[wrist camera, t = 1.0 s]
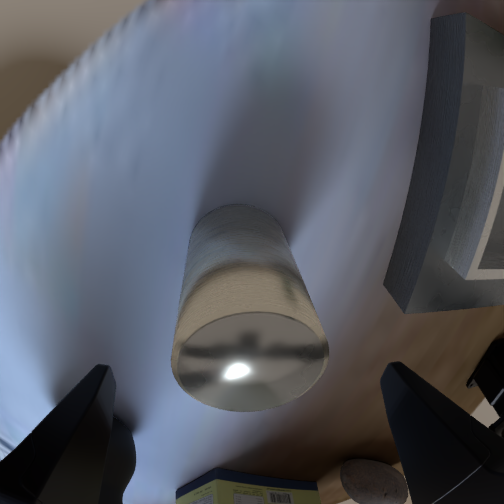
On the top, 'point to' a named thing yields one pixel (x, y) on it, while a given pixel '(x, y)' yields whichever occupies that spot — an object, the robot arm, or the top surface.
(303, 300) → the tin can
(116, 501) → the cola bottle
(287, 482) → the protein box
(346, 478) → the perforated stone tool
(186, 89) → the top surface
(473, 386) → the robot arm
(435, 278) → the open metal box
